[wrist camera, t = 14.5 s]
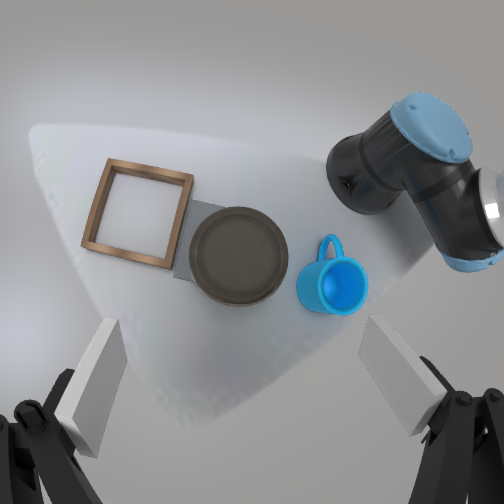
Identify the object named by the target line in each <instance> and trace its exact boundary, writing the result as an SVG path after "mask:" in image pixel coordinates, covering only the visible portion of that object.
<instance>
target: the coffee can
mask: <svg viewBox="0 0 504 504" xmlns="http://www.w3.org/2000/svg"><path fill="white" fill-rule="evenodd" d="M189 265H190V269H191V274H192V278H193V280H194V282H195V284H196V285H197V287H198V288H199V289H200V290H201V291H202V292H203V293H204V294H206V295H207V296H209V297H210V298H212V299H213V300H215V301H217V302H219V303H222V304H224V305H228V306H234V307H244V306H251V305H254V304H257V303H260V302H262V301H264V300H265V299H267V298H268V297H270V296H271V295H272V294H273V293H274V292H275V291H276V290H277V289H278V287H279V286H280V285H281V283H282V281H283V279H284V277H285V274H286V271H287V267H288V248H287V244H286V241H285V238H284V236H283V234H282V232H281V230H280V229H279V227H278V226H277V225H276V224H275V223H274V222H273V221H272V220H271V219H270V218H269V217H268V216H266V215H265V214H263V213H262V212H260V211H257V210H255V209H251V208H247V207H228V208H224V209H221V210H218V211H216V212H215V213H213V214H211V215H210V216H208V217H207V218H206V219H205V220H204V221H203V222H202V223H201V224H200V225H199V226H198V228H197V229H196V231H195V233H194V235H193V237H192V240H191V243H190V247H189Z"/></svg>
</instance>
